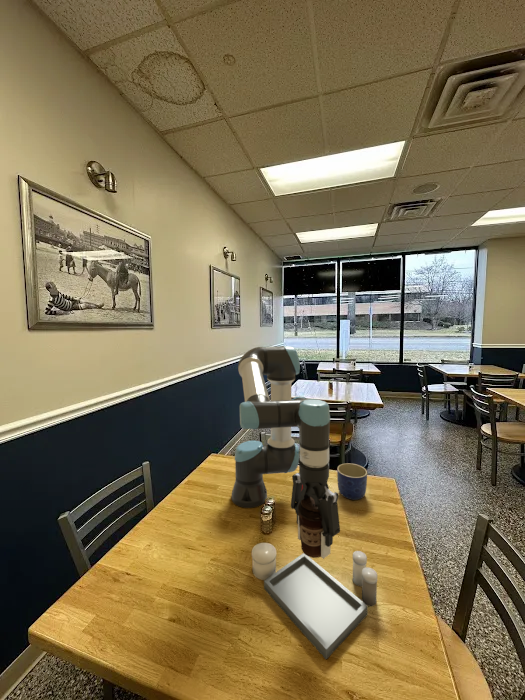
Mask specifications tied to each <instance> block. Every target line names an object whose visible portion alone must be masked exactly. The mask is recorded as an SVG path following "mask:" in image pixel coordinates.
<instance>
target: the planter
mask: <svg viewBox="0 0 525 700" xmlns="http://www.w3.org/2000/svg"><path fill="white" fill-rule="evenodd" d="M336 471H337V473H336V475H337V488H338V492H339V494H340V495H342V497H344V498H346V499H349V500H354V501H355V500H361V499H362V498H363V497H365V495H366V491H367V481H368V471H367V469H366V468H365V467H363V466H362V465H360V464H356V463H348V462H347V463H342V464H339V465H338V466H337V470H336Z"/></svg>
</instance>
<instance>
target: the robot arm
mask: <svg viewBox="0 0 525 700" xmlns="http://www.w3.org/2000/svg"><path fill="white" fill-rule="evenodd" d="M300 366H301V365H300V358H299V355H298V352H297V350H296V348H295V347H293V346H287V345H281V346H276V345H275V346H257V347H253V348H251V349H249V350H248V351H247V352H245V353H244V354H243V355H242V356H241V358H240V359H239V361H238V366H237V368H238V369H237V370H238V374H239V376H240V377H241V379H242V389H243V397H244V401H243V402H241V403H240V404H239V425H240V428H241V429H243V430H254V431H255V430H261V429H264V430H265V429H270V437H269V438H268V439H267V444H263V442H261V441H260V440H248V441H244V442H242V443H239V444H238V445H237V446H236V448H235V453H234V454H235V455H234V462H235V464H234V465H235V473H234V474H235V481H234V485H233V488H232V491H231V501H232V503H233V504H234V505H236V506H237V507H240V508H247V509H248V508H249V509H252V508H257V507H259V506H261V505H263V504H264V503H265V502H266V501H265V499H266V498H267V499H268V490H267V487H266V485H265V482H264V477H263V476H264V475H270V474H271V475H272V474H287V473H294V472H295V471H296V470H297V469H299V470H298V471H299V472H297V473H295V474H293V475H292V477H291V479H292V490H291V499H290V501H291V502H290V507H291V509H292V510H294V511H295V514H296V524H297V539H298V540H299V541H301V539H300V527H299V513H298V506H299V504H300V502H301V500H305V499H307V498H309V497H312V498H313V499H314V502H315V505H317V507H318V510H319V511H320V515H321V517H322V521H321V522H322V526H323V530H324V531H323V532H321V557H320V558H321V559H322V560H325V558H326V557H328V556H330V555H331V546H332V545H333V541H334V537H335V536H336V535H338V534H339V533H340V532H341V526H340V516H339V507H338V500H339V493H338V492H336V491H334V492H333V491H331V490H330V489H329V488H330V487H329V484H328V480H329V478H330V477H329V476H330V425H331V424H330V422H331V414H330V405H329V404H328V402H326V401H324V400H321V399H315V398H313V399H309V398H306V397H305V396H299V395H298V396H295V397H294V398H292V383H294V381H295V380H296V376H297V375H299V374H300V371H301V367H300ZM264 376H266V377H267V378H266V379H267V381H268V382H270V395H269V392H268V390H267V386H266V381H265V378H264ZM296 427H297V428H298V433H299V436H298V438H299V442H298V443H299V446H298V444H297V443H296V442H295V439H294V438H292V428H296ZM298 467H299V468H298ZM302 485H303V488H302ZM321 498H322V499H321ZM267 499H266V500H267ZM319 499H320V500H319ZM264 501H265V502H264Z"/></svg>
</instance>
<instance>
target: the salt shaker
mask: <svg viewBox="0 0 525 700" xmlns="http://www.w3.org/2000/svg"><path fill="white" fill-rule="evenodd" d="M367 562H368V557H367V555H366V553H365V552H363V551H361V550H355V551H354V552H353V553H352V582H353V583H354V585H356V586H358V587H362V570H363V569H364V568H366V567H367Z"/></svg>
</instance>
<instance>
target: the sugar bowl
mask: <svg viewBox="0 0 525 700" xmlns="http://www.w3.org/2000/svg"><path fill="white" fill-rule="evenodd" d="M251 558H252V574H253V576H254V577H255V578H257V579H258V580H262V581H264V580H266V579H267V578H268V577H270V576H271V575H273V574H274V573H276V572H277V568H276V567H277V549H276V547H275V546H274V545H273V544H271V543H269V542H259V543H257V544H255V545H254V546H253V547H252V550H251Z"/></svg>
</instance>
